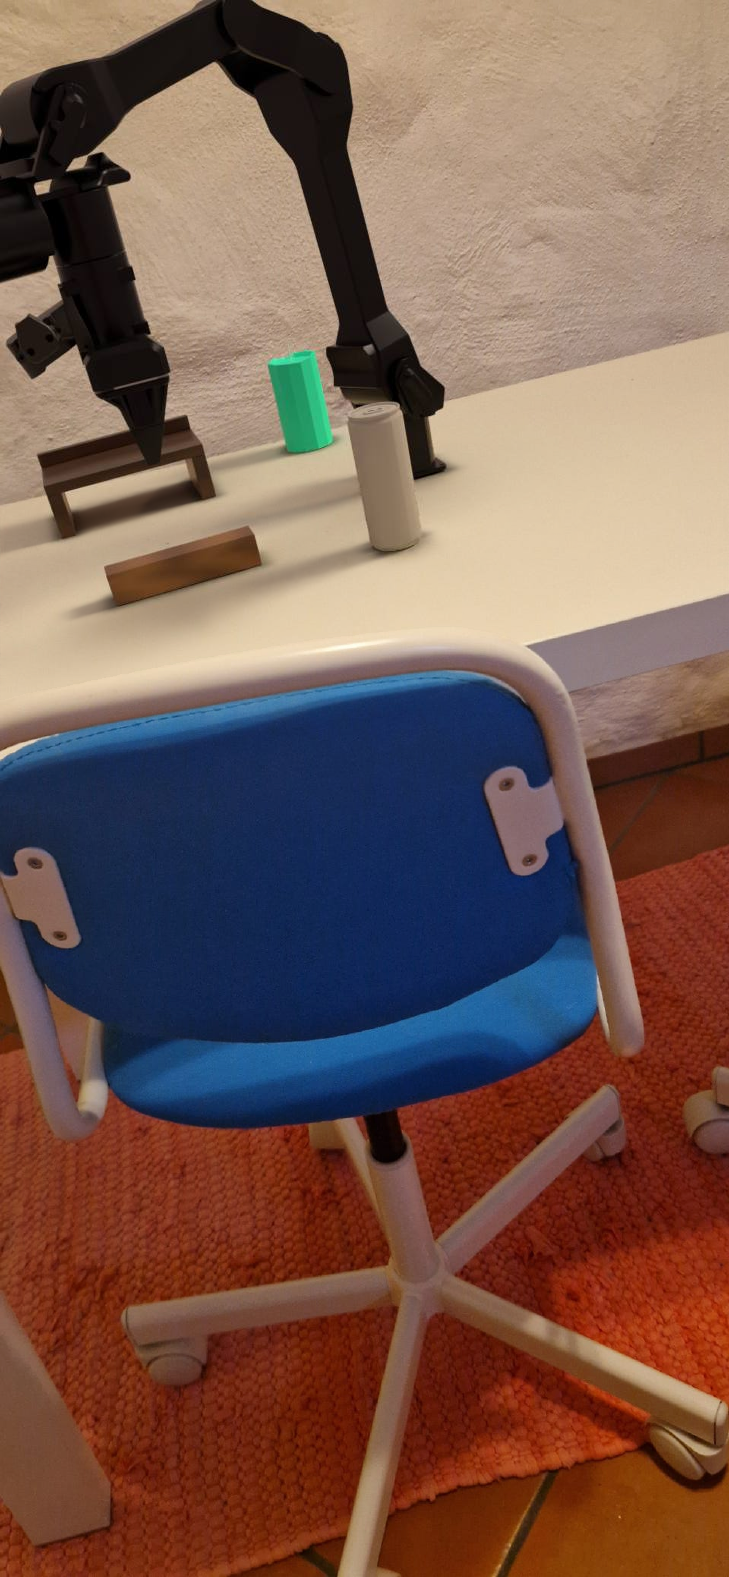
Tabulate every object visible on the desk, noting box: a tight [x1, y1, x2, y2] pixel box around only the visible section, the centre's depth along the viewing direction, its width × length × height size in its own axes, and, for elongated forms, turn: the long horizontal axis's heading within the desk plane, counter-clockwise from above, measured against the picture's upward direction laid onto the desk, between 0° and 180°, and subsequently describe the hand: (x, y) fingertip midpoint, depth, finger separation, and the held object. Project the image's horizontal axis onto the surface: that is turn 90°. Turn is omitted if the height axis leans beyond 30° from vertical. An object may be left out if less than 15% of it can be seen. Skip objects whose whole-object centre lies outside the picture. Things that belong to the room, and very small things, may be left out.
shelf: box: [36, 413, 217, 539], centre depth 122 cm, size 10×18×8 cm, turn 106°
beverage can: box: [346, 402, 423, 552], centre depth 94 cm, size 5×5×12 cm
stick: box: [103, 525, 263, 607], centre depth 99 cm, size 14×3×3 cm, turn 106°
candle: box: [267, 343, 334, 454], centre depth 129 cm, size 6×6×12 cm
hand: (148, 453), depth 93 cm, fingers open, 9 cm apart
